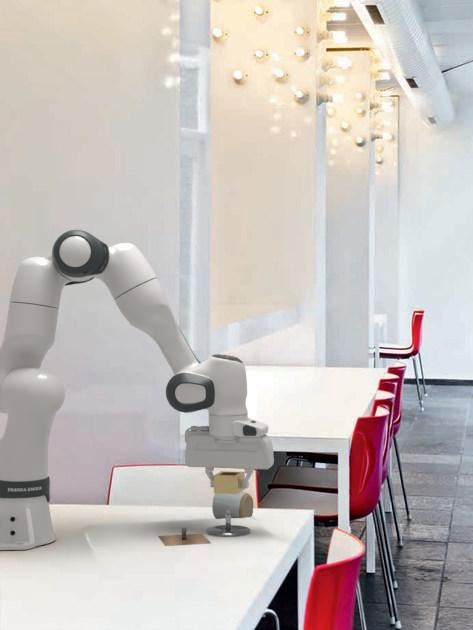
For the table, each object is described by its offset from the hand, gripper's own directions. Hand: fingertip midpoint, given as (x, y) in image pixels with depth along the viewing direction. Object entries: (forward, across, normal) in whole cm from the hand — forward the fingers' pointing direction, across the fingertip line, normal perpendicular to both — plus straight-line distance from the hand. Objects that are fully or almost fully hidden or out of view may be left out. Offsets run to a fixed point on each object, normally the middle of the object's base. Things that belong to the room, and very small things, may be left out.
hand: (229, 487), depth 250 cm
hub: (+11, 0, -1) cm, 11 cm away
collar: (+1, 0, 0) cm, 1 cm away
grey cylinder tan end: (+12, -5, +20) cm, 24 cm away
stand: (+11, -8, -10) cm, 17 cm away
